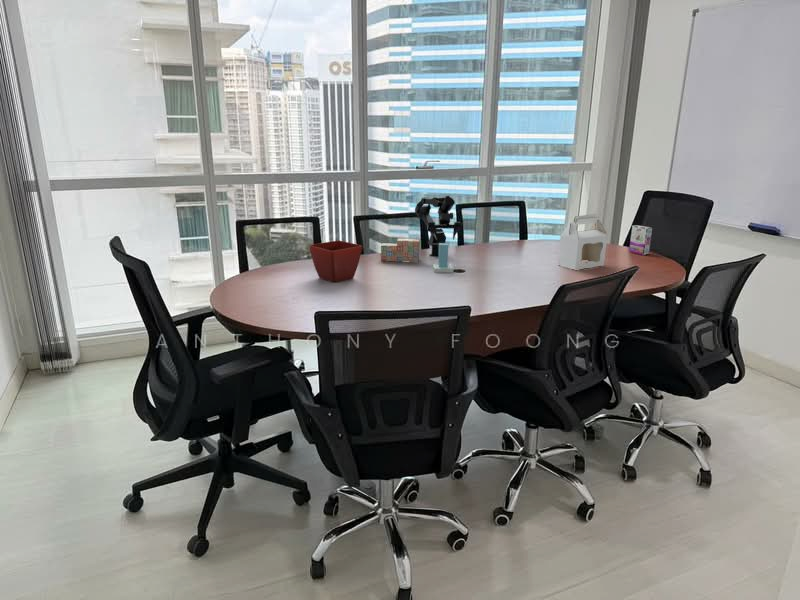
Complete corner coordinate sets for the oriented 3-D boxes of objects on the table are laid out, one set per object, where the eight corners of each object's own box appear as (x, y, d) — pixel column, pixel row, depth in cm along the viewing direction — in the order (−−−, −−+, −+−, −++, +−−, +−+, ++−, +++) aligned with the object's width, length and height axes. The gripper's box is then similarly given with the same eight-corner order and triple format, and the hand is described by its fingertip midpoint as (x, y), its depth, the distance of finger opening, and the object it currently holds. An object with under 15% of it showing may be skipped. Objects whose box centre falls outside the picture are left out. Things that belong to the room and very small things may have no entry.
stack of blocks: (380, 261, 321) (380, 240, 318) (382, 259, 327) (382, 237, 324) (418, 262, 320) (419, 241, 316) (419, 260, 325) (419, 238, 322)
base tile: (432, 267, 309) (432, 263, 308) (451, 267, 309) (451, 263, 309) (434, 272, 299) (434, 268, 299) (453, 272, 300) (453, 268, 299)
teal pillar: (438, 265, 306) (438, 243, 302) (446, 265, 306) (447, 243, 302) (439, 267, 301) (439, 244, 298) (447, 267, 302) (448, 244, 298)
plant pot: (339, 271, 300) (338, 239, 295) (363, 278, 287) (363, 245, 282) (309, 277, 287) (308, 244, 282) (333, 285, 274) (332, 251, 269)
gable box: (574, 271, 304) (580, 218, 296) (556, 265, 315) (561, 215, 307) (604, 266, 315) (610, 215, 306) (585, 261, 326) (591, 212, 317)
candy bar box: (649, 254, 342) (653, 227, 337) (643, 255, 340) (647, 228, 335) (634, 251, 352) (637, 224, 347) (628, 251, 349) (631, 225, 344)
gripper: (428, 207, 313) (429, 231, 306) (462, 207, 314) (464, 231, 307) (426, 219, 323) (427, 242, 316) (459, 219, 324) (461, 242, 317)
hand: (445, 239), depth 314 cm, fingers open, 9 cm apart
